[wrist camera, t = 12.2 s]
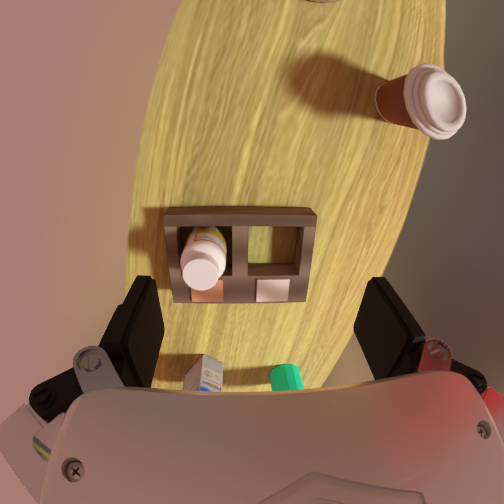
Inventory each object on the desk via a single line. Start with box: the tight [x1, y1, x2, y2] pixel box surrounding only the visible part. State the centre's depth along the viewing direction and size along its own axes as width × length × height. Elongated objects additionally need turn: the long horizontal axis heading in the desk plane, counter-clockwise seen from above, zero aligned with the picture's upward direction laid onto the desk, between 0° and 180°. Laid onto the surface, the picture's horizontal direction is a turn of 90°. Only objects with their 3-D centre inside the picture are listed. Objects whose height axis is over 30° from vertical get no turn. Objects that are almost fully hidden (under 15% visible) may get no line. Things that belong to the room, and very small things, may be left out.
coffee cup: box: [374, 64, 466, 139], centre depth 25 cm, size 9×9×12 cm
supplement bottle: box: [181, 226, 227, 290], centre depth 34 cm, size 5×5×10 cm
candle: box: [270, 364, 304, 391], centre depth 46 cm, size 6×6×12 cm
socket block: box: [163, 206, 317, 303], centre depth 37 cm, size 13×19×4 cm
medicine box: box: [183, 354, 223, 392], centre depth 45 cm, size 8×4×9 cm, turn 145°
